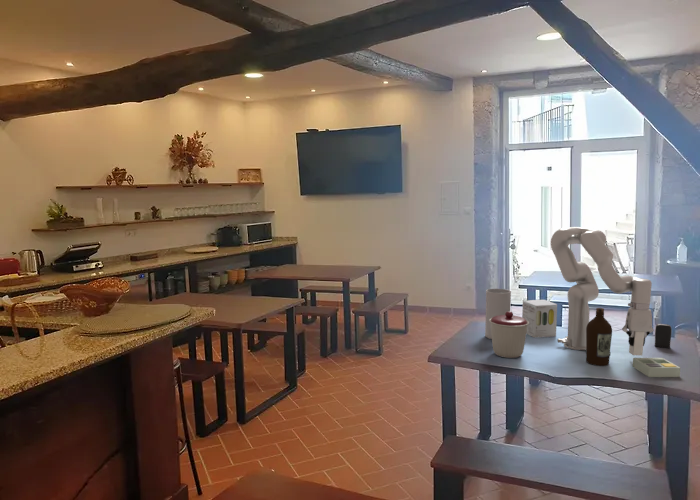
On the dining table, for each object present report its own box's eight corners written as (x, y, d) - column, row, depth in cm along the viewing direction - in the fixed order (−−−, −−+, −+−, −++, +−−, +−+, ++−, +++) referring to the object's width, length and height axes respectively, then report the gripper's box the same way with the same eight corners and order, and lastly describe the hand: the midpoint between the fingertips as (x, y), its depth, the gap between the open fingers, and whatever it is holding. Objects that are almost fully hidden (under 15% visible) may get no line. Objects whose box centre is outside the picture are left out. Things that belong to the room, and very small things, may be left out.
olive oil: (579, 359, 247) (582, 306, 244) (599, 358, 249) (602, 305, 246) (595, 367, 236) (597, 311, 233) (615, 365, 239) (618, 310, 236)
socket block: (648, 377, 224) (649, 367, 224) (632, 366, 237) (633, 357, 237) (679, 376, 224) (680, 366, 224) (661, 366, 237) (662, 357, 237)
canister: (486, 358, 249) (487, 314, 247) (490, 347, 266) (491, 306, 264) (527, 362, 243) (528, 317, 241) (528, 351, 260) (530, 308, 258)
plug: (633, 355, 243) (636, 325, 241) (628, 352, 247) (631, 322, 245) (642, 355, 243) (645, 325, 241) (637, 352, 247) (640, 323, 245)
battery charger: (670, 346, 266) (671, 324, 265) (670, 348, 263) (672, 325, 262) (653, 344, 270) (655, 322, 268) (654, 346, 266) (655, 324, 265)
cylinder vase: (512, 340, 278) (513, 293, 275) (488, 340, 278) (489, 293, 275) (505, 333, 291) (507, 288, 288) (482, 334, 291) (483, 288, 288)
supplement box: (534, 338, 283) (535, 305, 281) (521, 331, 295) (522, 300, 293) (556, 336, 285) (558, 304, 283) (543, 330, 298) (544, 299, 296)
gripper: (625, 307, 238) (622, 347, 241) (663, 308, 238) (659, 348, 240) (617, 303, 245) (613, 342, 248) (653, 304, 245) (650, 342, 248)
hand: (636, 344), depth 244 cm, fingers closed on plug, 4 cm apart
